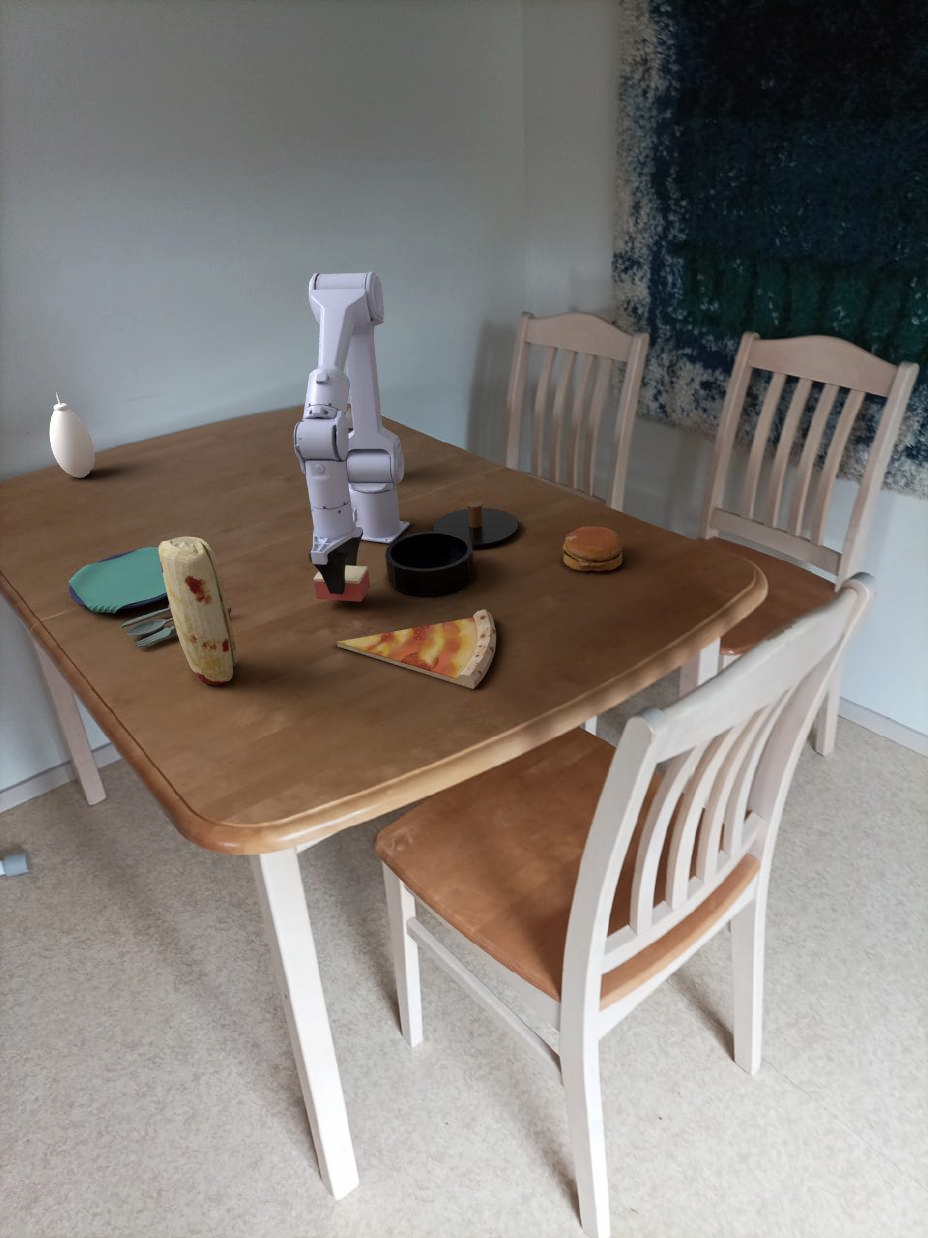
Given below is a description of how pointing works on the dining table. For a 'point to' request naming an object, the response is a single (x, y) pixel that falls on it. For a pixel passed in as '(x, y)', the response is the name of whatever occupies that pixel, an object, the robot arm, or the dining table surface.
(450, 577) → the pan
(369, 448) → the robot arm
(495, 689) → the dining table surface
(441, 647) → the pizza slice
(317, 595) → the red and cream block
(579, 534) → the burger
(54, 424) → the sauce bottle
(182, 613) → the food model
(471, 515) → the pan lid
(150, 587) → the cutlery set
